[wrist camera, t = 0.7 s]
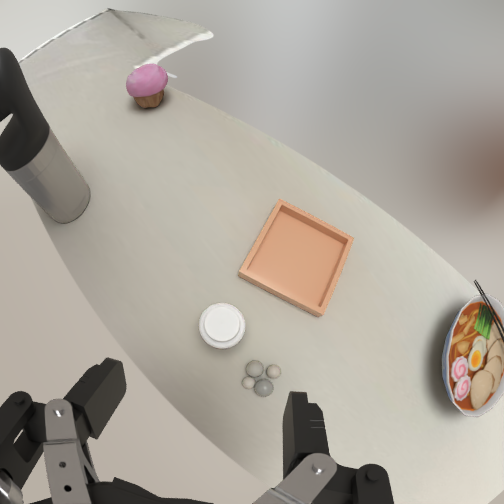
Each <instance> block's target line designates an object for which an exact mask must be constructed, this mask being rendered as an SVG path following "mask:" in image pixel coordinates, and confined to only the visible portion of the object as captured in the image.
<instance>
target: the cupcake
mask: <svg viewBox="0 0 504 504" xmlns="http://www.w3.org/2000/svg"><path fill="white" fill-rule="evenodd" d="M167 82H168V76H167V73H166V71H165V70H164V69H163V68H162V67H160V66H158V65H156V64H146V65H143V66H141V67H139V68H137V69H136V70H134V71H133V72H132V74H130V75H129V76H128V78H127V82H126V88H127V91H128V93H129V95H131V96H133V97H134V99H135V101H136V102H137V104H138V105H140V106H142V107H143V108H147V107H157V106H158V105H159V103H160V102H161V100H162V98H163V95H164V90H163V89H164V88H165V86H166V84H167Z"/></svg>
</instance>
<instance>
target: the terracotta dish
mask: <svg viewBox="0 0 504 504" xmlns="http://www.w3.org/2000/svg"><path fill="white" fill-rule="evenodd" d="M353 240H354V238H353V237H351V236H350V235H348V234H346V233H344V232H342V231H341V230H339V229H337V228H335V227H333V226H331V225H329V224H328V223H326V222H324V221H322V220H320V219H318V218H316V217H314V216H313V215H311V214H309V213H307V212H305V211H303V210H301V209H299V208H297V207H295V206H293V205H291V204H289V203H287V202H285V201H283V200H281V199H279V200H278V202H277V204H276V206H275V207H274V209H273V211H272V213H271V215H270V216H269V218H268V220H267V222H266V224H265V225H264V227H263V229H262V231H261V233H260V234H259V236H258V238H257V240H256V242H255V243H254V245H253V247H252V249H251V251H250V252H249V254H248V256H247V258H246V260H245V261H244V263H243V265H242V267H241V269H240V270H239V274H238V276H239V277H241V278H243V279H245V280H247V281H248V282H250V283H252V284H254V285H256V286H258V287H260V288H262V289H264V290H266V291H268V292H270V293H272V294H274V295H275V296H277V297H279V298H281V299H283V300H285V301H287V302H289V303H291V304H293V305H295V306H297V307H299V308H301V309H303V310H305V311H307V312H309V313H311V314H313V315H315V316H317V317H319V316H322V315H324V313H325V310H326V308H327V306H328V303H329V301H330V299H331V296H332V294H333V291H334V289H335V286H336V284H337V282H338V279H339V277H340V274H341V272H342V269H343V266H344V264H345V261H346V259H347V256H348V253H349V251H350V248H351V245H352V243H353Z"/></svg>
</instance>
